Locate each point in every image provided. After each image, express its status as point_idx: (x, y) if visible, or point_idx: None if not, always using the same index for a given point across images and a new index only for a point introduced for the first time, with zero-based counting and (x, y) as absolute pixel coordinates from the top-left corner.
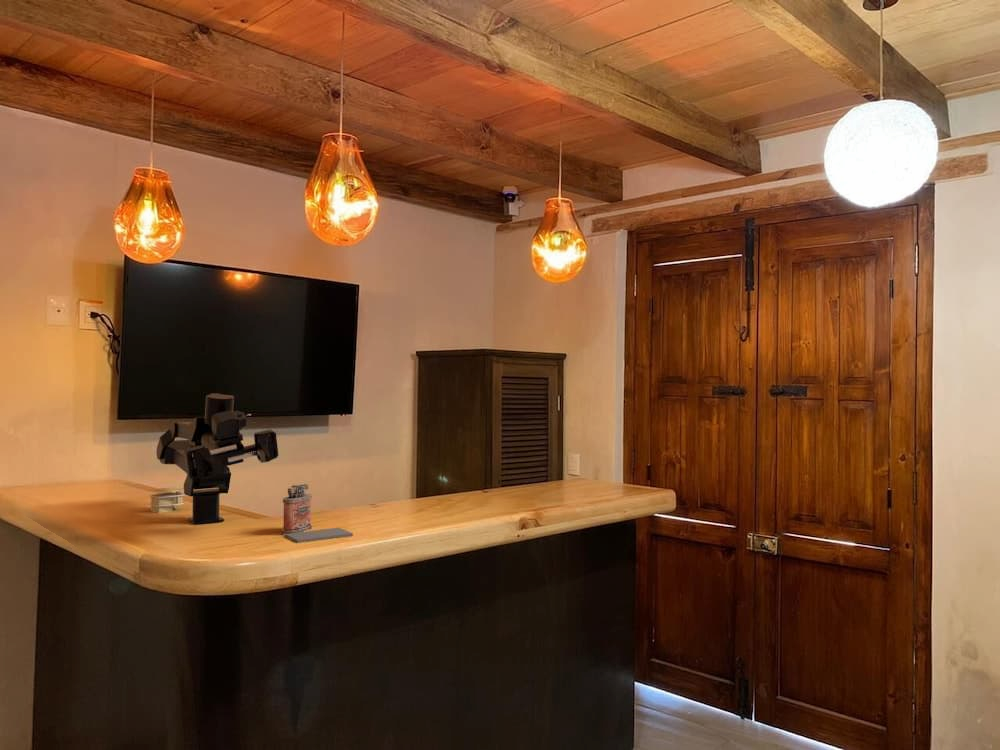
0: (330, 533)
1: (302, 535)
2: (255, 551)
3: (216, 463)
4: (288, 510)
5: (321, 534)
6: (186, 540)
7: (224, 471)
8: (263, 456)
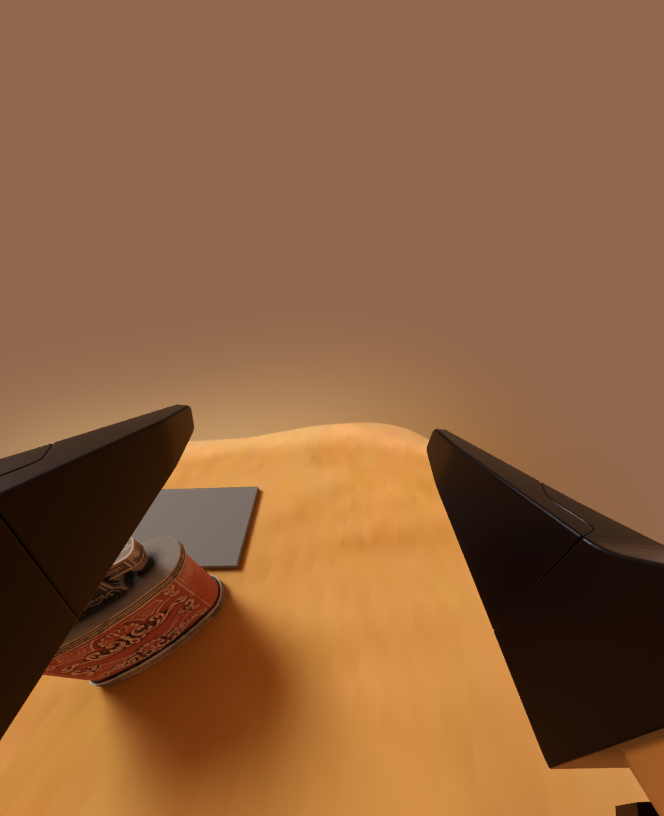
0: (167, 511)
1: (220, 524)
2: (349, 466)
3: (494, 460)
4: (190, 557)
5: (187, 511)
6: (522, 723)
7: (429, 442)
8: (127, 490)
